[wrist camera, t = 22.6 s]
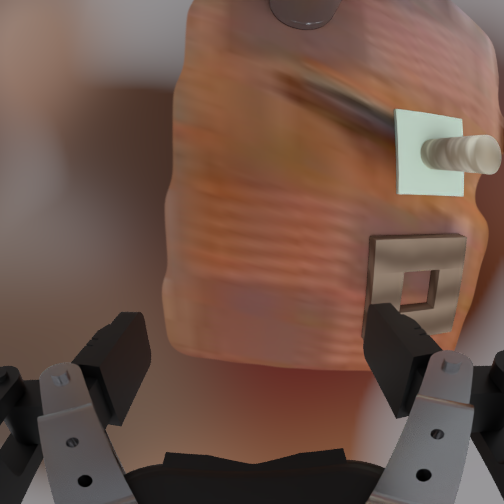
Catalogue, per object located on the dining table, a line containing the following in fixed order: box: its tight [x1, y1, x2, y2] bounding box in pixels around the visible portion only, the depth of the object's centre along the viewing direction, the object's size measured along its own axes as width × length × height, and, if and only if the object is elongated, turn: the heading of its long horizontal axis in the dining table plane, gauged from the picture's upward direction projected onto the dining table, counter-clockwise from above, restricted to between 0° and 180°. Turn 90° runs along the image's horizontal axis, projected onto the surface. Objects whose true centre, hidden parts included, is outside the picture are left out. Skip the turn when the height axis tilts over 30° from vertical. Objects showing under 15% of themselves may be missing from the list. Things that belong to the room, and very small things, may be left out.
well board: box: [362, 234, 467, 340], centre depth 43 cm, size 16×16×2 cm
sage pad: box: [394, 109, 464, 196], centre depth 39 cm, size 12×12×1 cm
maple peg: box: [420, 135, 501, 174], centre depth 32 cm, size 4×4×13 cm
